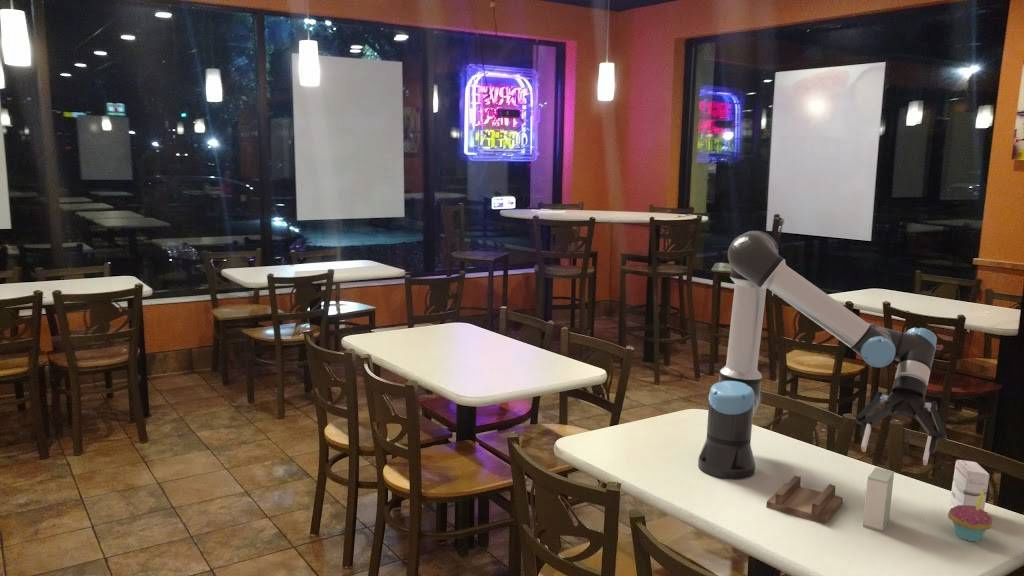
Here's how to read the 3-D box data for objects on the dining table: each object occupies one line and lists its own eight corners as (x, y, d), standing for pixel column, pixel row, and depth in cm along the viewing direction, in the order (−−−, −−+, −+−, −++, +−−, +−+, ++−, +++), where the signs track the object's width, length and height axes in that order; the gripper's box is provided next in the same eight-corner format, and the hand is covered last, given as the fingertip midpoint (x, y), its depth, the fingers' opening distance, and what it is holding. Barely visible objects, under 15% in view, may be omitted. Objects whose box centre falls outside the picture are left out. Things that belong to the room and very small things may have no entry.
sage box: (862, 526, 177) (867, 477, 175) (870, 514, 183) (875, 467, 181) (881, 531, 174) (887, 481, 173) (889, 519, 181) (894, 471, 179)
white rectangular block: (984, 521, 181) (990, 473, 179) (961, 519, 182) (967, 471, 180) (970, 506, 190) (976, 460, 188) (948, 504, 191) (953, 458, 189)
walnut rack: (766, 507, 186) (767, 491, 185) (785, 488, 197) (787, 473, 197) (826, 523, 177) (827, 507, 177) (842, 503, 189) (844, 487, 189)
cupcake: (987, 533, 175) (993, 483, 173) (992, 549, 167) (999, 497, 165) (944, 525, 178) (950, 476, 177) (947, 540, 171) (954, 489, 169)
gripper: (967, 400, 189) (952, 475, 179) (859, 382, 204) (840, 451, 194) (967, 383, 184) (951, 460, 174) (856, 366, 199) (837, 436, 189)
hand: (893, 455), depth 184 cm, fingers open, 13 cm apart
